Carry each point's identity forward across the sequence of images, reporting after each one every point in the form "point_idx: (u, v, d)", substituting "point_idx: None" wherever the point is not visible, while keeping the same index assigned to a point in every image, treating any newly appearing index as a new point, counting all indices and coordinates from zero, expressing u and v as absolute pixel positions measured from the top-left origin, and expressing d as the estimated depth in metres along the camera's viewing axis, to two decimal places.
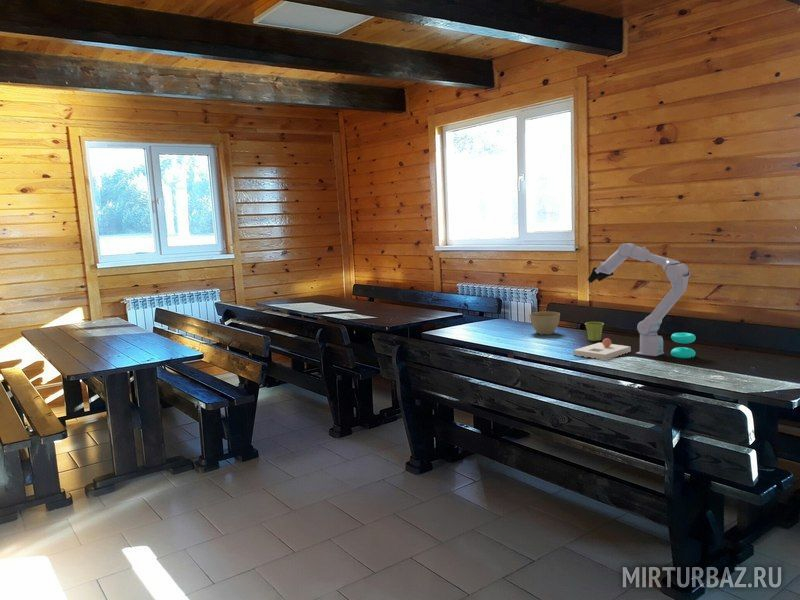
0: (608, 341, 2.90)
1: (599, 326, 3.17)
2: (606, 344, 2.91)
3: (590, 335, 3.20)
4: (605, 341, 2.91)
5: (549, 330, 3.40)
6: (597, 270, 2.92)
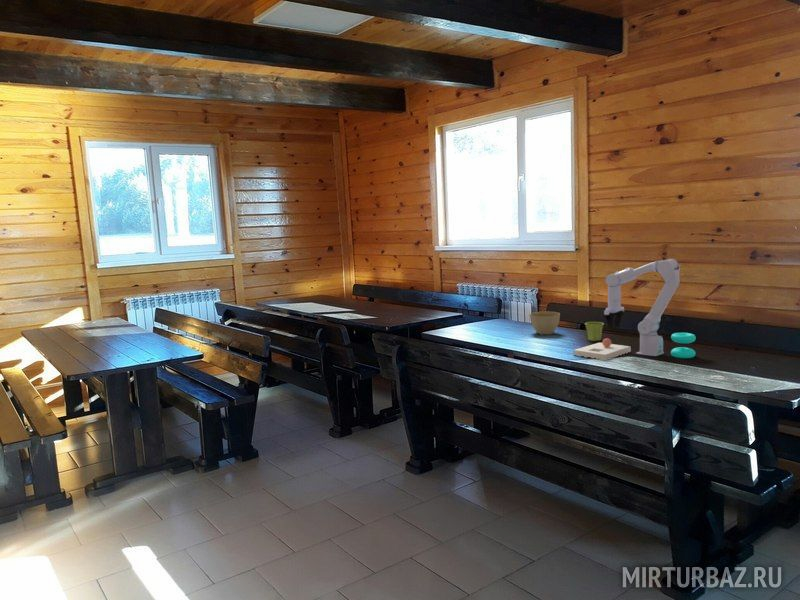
0: (608, 341, 2.90)
1: (599, 326, 3.17)
2: (606, 344, 2.91)
3: (590, 335, 3.20)
4: (605, 341, 2.91)
5: (549, 330, 3.40)
6: (606, 312, 2.90)
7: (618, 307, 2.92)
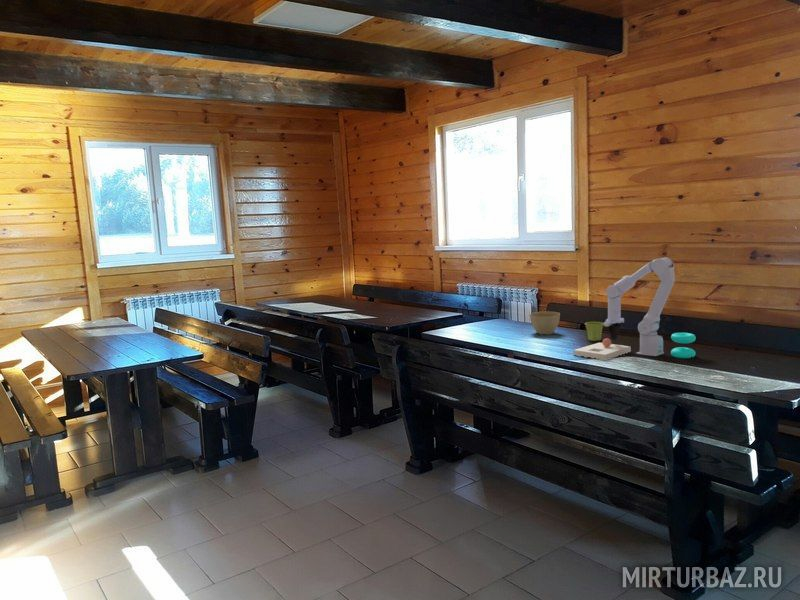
0: (608, 341, 2.90)
1: (599, 326, 3.17)
2: (606, 344, 2.91)
3: (590, 335, 3.20)
4: (605, 341, 2.91)
5: (549, 330, 3.40)
6: (605, 323, 2.91)
7: (618, 319, 2.93)
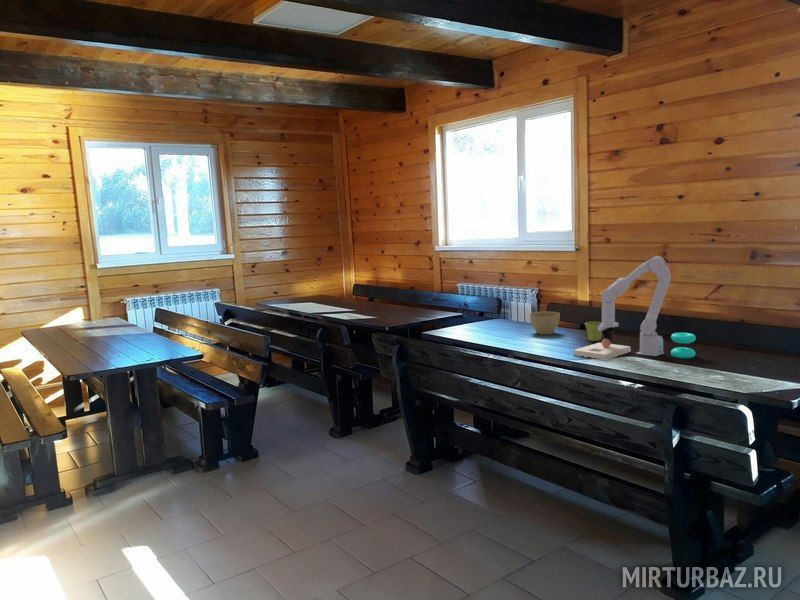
0: (607, 342, 2.90)
1: None
2: (606, 345, 2.90)
3: (590, 335, 3.20)
4: (604, 342, 2.90)
5: (549, 330, 3.40)
6: (599, 328, 2.88)
7: (612, 323, 2.89)
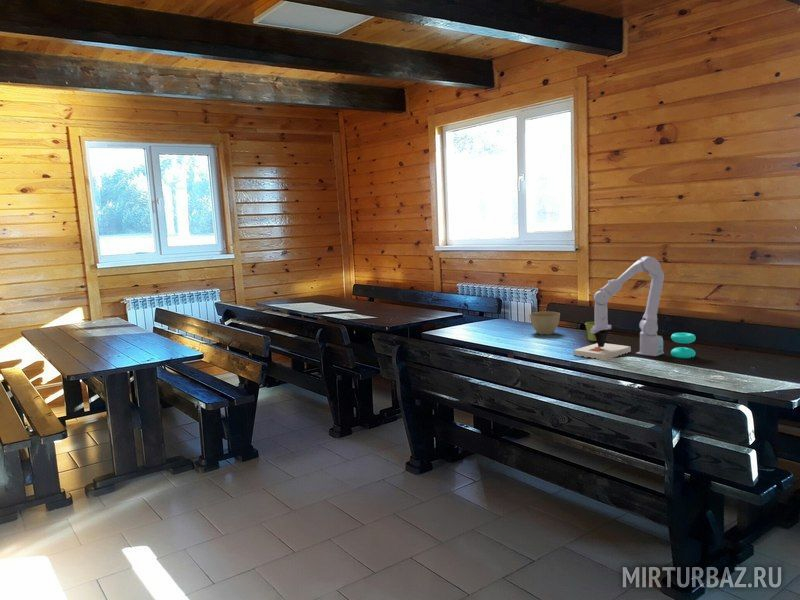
0: None
1: None
2: (600, 348, 2.87)
3: (590, 335, 3.20)
4: None
5: (549, 330, 3.40)
6: (592, 330, 2.83)
7: (605, 325, 2.85)
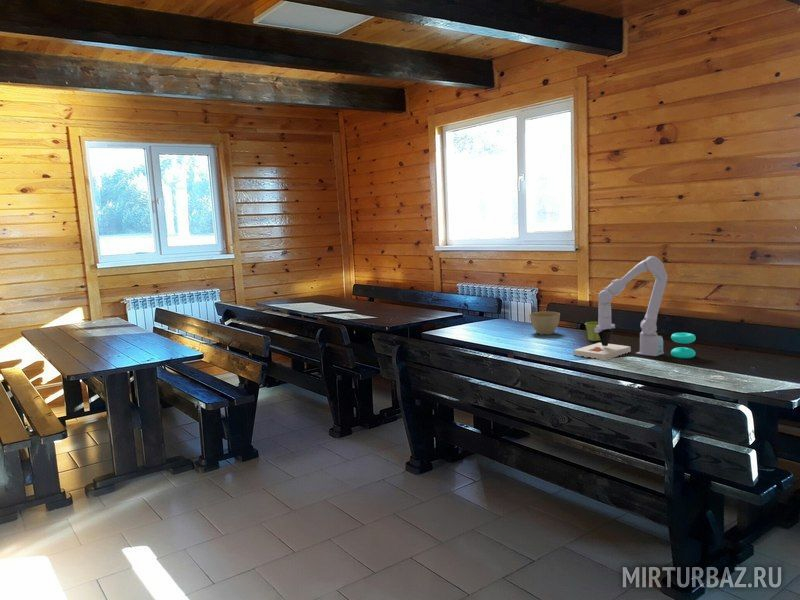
0: None
1: None
2: (600, 348, 2.86)
3: (590, 335, 3.20)
4: None
5: (549, 330, 3.40)
6: (596, 329, 2.85)
7: (609, 325, 2.87)
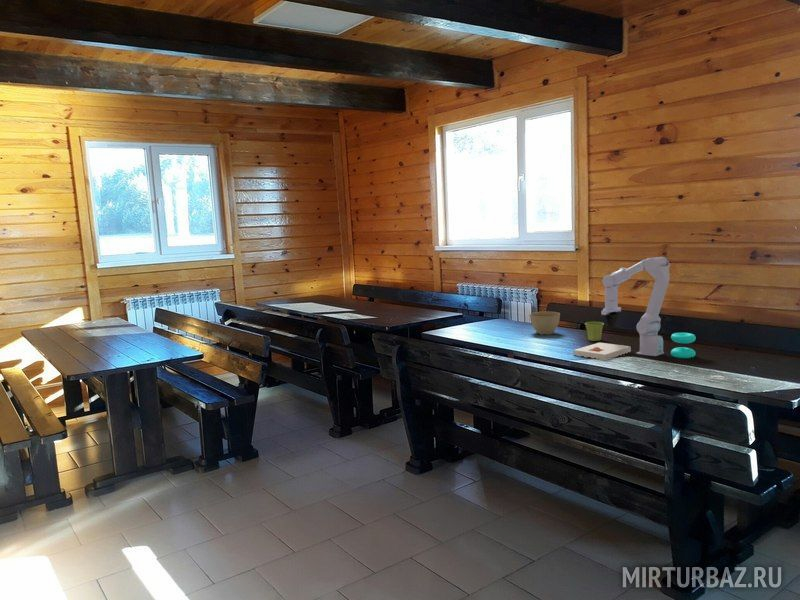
0: None
1: (599, 326, 3.17)
2: (599, 348, 2.85)
3: (590, 335, 3.20)
4: None
5: (549, 330, 3.40)
6: (603, 312, 2.96)
7: (615, 307, 2.98)
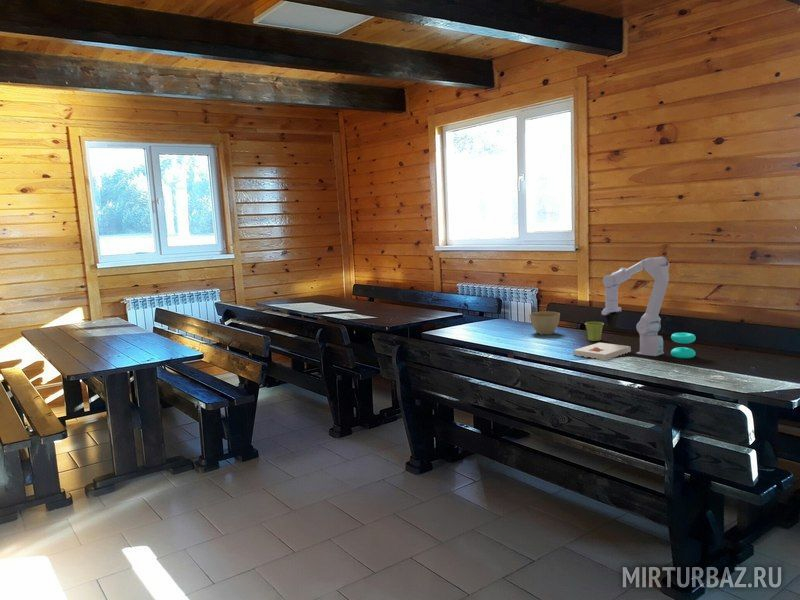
0: (600, 350, 2.85)
1: (599, 326, 3.17)
2: (598, 348, 2.85)
3: (590, 335, 3.20)
4: None
5: (549, 330, 3.40)
6: (603, 312, 2.96)
7: (615, 307, 2.98)
